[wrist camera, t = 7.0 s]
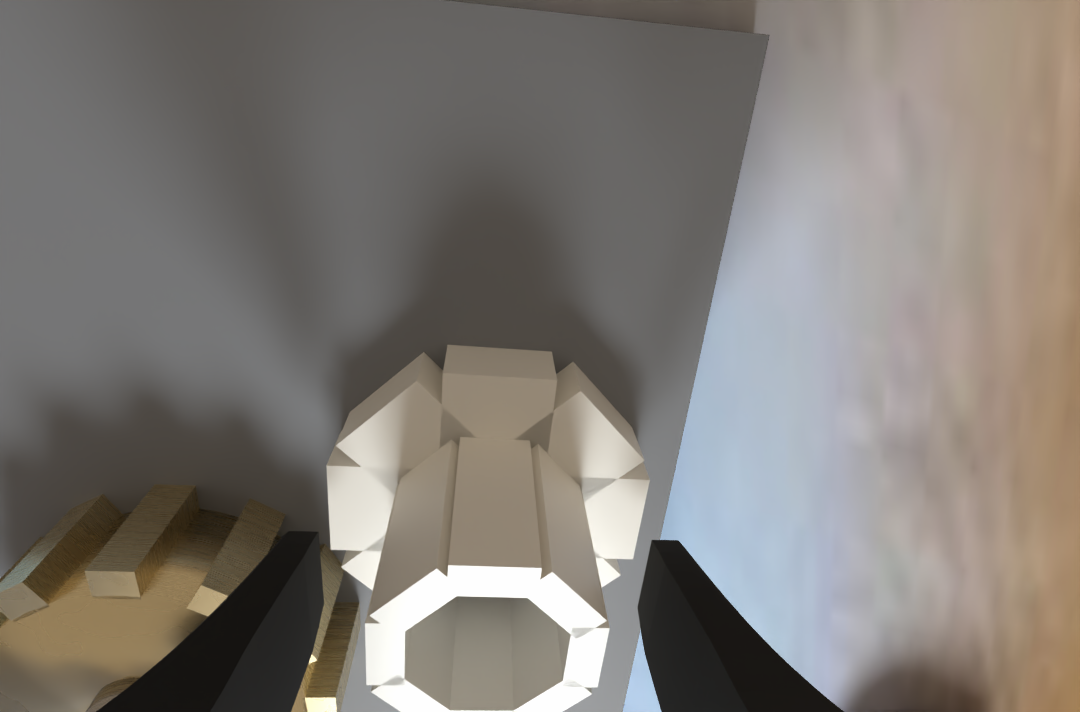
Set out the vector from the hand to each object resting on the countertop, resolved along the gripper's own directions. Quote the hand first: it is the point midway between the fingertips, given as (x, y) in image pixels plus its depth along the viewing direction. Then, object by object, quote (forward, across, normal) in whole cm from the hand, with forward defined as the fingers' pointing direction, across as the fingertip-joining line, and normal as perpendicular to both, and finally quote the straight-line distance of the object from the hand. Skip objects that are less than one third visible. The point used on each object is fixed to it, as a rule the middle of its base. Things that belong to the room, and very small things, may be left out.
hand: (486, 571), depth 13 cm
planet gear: (+3, 0, 0) cm, 3 cm away
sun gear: (+3, +8, +5) cm, 10 cm away
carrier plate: (+4, +4, 0) cm, 6 cm away
